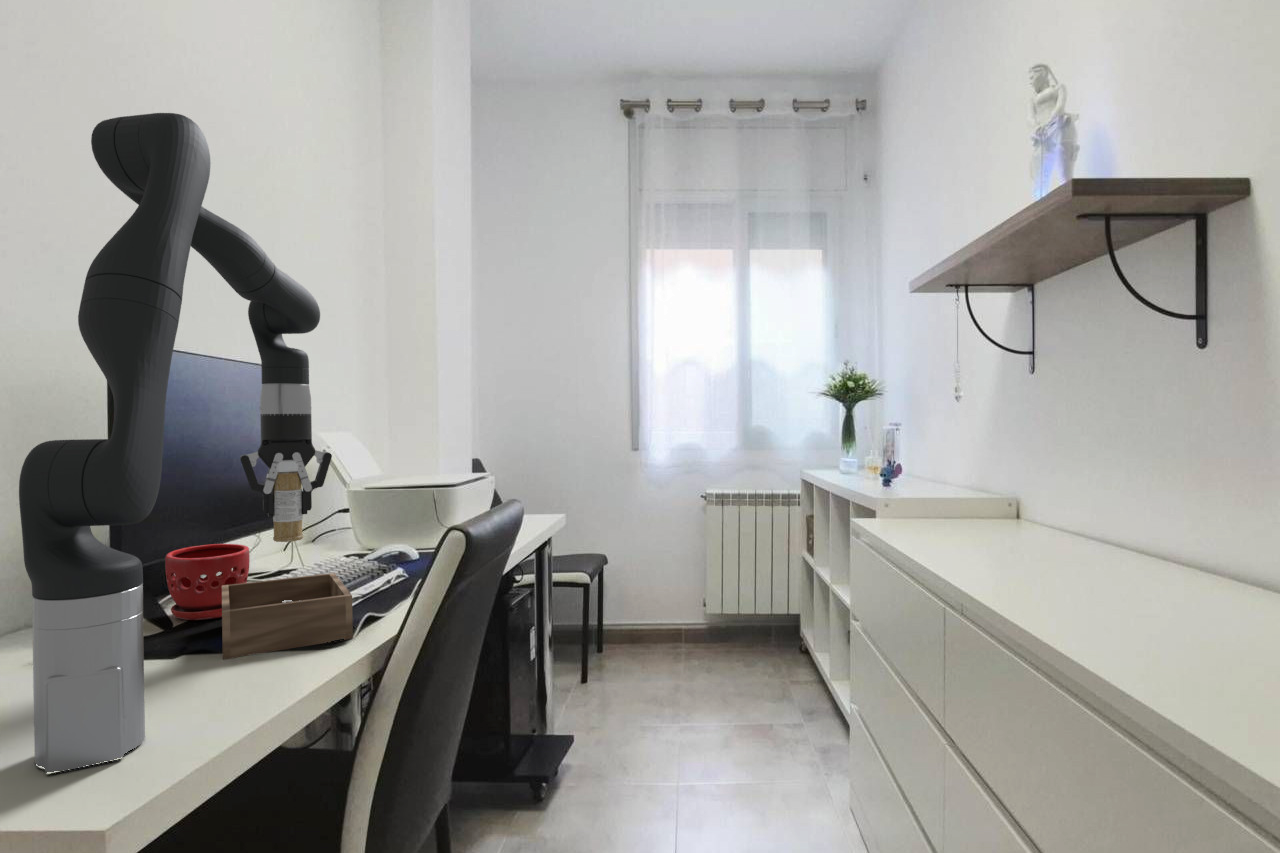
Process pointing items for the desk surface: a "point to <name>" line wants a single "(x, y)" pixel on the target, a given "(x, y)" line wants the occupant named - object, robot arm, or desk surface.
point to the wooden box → (284, 614)
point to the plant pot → (204, 594)
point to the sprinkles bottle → (287, 503)
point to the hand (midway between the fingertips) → (287, 514)
